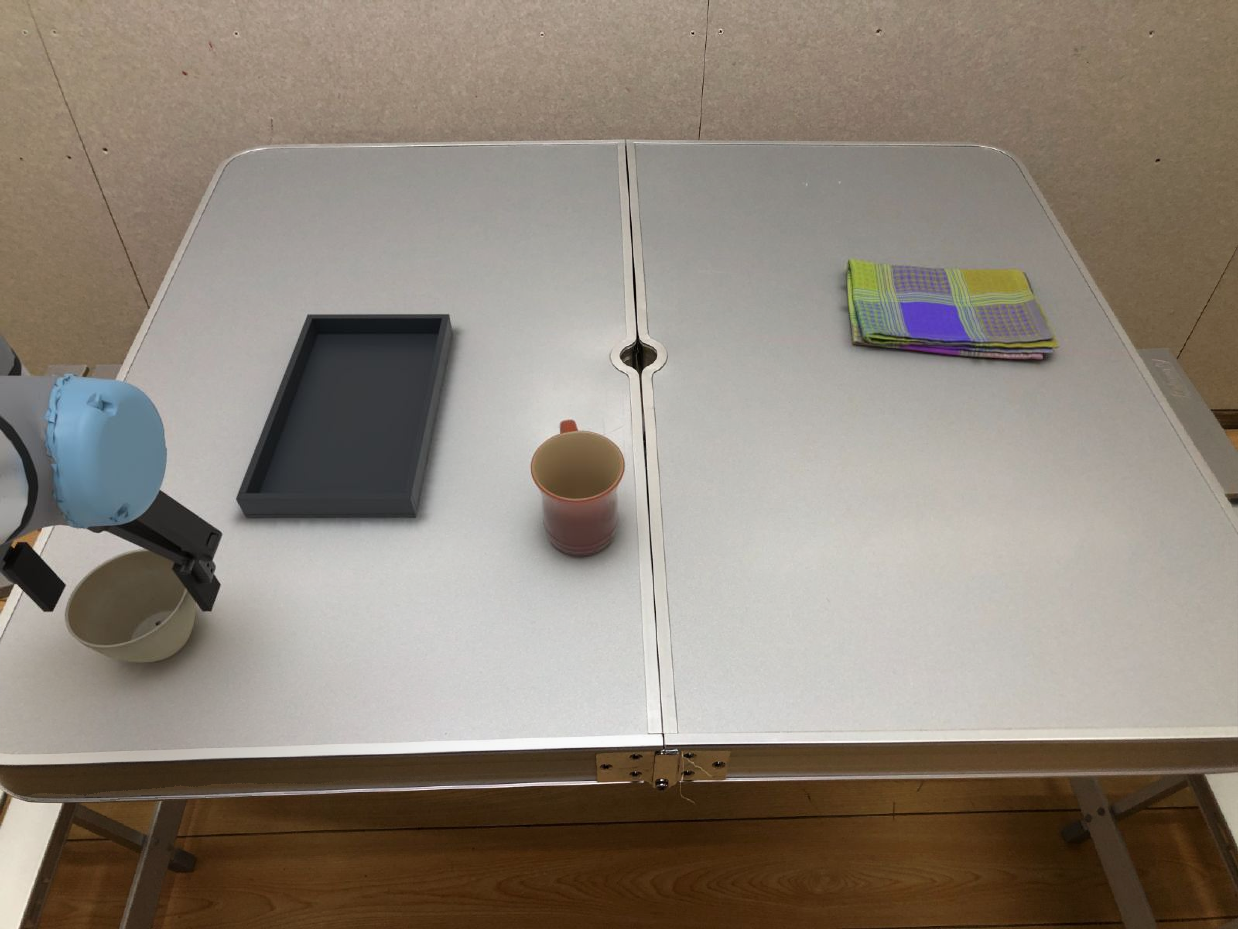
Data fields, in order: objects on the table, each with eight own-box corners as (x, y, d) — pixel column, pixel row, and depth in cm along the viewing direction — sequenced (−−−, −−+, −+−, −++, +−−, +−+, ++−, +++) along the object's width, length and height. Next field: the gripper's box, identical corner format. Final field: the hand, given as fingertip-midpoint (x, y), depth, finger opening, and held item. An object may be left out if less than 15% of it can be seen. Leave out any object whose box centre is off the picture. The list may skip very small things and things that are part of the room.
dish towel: (843, 267, 115) (847, 250, 113) (1025, 279, 114) (1033, 262, 111) (852, 350, 104) (856, 332, 102) (1054, 365, 102) (1063, 348, 100)
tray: (416, 517, 86) (410, 498, 84) (245, 518, 86) (235, 499, 84) (453, 333, 106) (449, 313, 104) (314, 333, 106) (307, 314, 104)
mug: (631, 559, 83) (633, 493, 75) (544, 573, 82) (536, 507, 74) (610, 470, 91) (609, 401, 83) (530, 481, 90) (522, 413, 82)
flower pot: (193, 573, 82) (163, 529, 76) (235, 643, 77) (207, 600, 71) (88, 631, 78) (48, 589, 72) (125, 709, 72) (85, 669, 67)
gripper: (198, 391, 59) (288, 561, 75) (-155, 392, 59) (10, 562, 75) (160, 472, 54) (265, 636, 70) (-225, 473, 54) (-32, 637, 70)
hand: (133, 598), depth 73 cm, fingers open, 13 cm apart
